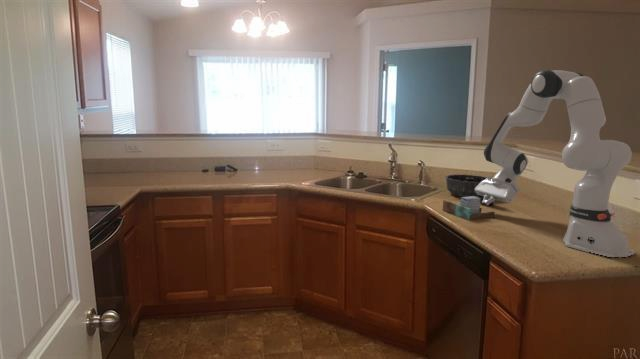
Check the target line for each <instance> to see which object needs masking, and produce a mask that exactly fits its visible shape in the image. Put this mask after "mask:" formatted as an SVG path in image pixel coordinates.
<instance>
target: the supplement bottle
mask: <svg viewBox="0 0 640 359" xmlns="http://www.w3.org/2000/svg"><path fill="white" fill-rule="evenodd" d="M483 199H484V196H481V197H480V206H484V207H485V206H486V207H487V206H488V207H492V206H494V205H495V201H493V202H491V203H490V204H489V205H484V204H482V201H483ZM489 199H490V198H489ZM487 200H488V199H487Z"/></svg>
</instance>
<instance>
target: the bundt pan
mask: <svg viewBox="0 0 640 359" xmlns="http://www.w3.org/2000/svg"><path fill="white" fill-rule="evenodd" d="M486 179H490V180H492V179H493V177H492V178H491V177H489V176H488V177H487V176H483V175H482V176H481V175H473V174H448V175H446V176H445V181H446V189H447V191H448V192H449V193H451V194H452V195H454V196H456V197H457V196H458V197H460V198H461V197H470V196H475V197H478V198H480V197H481V195H478V194H477V193H476V192H475V188H476V187H477V185H478V184H479V183H481V182H482V181H483V180H486Z"/></svg>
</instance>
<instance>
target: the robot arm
mask: <svg viewBox="0 0 640 359" xmlns="http://www.w3.org/2000/svg"><path fill="white" fill-rule="evenodd" d="M553 100H564V101H565V104H566V110H567V115H568V119H569V124H570V136H569V141H568V143H567V144H566V145H565V146H564V147H563V149H562V151H561V152H562V153H561V160H562V163H563V164H564V166H566V168H568V169H571V170H575V171H581V172H583V171H584V172H585V171H586V172H585V173H584V174H585V175H583V177H582V178H581V179H580V180H579V181H577V182H576V184H575V185H574V187H573V188H574V189H573V195H572V196H573V197H572V204H571V205H570V210H569V221H568V225H567V229H566V232H565V234H564V236H563V238H562V241H563V243H565V246H566V247H568V248H572V249H574V250H579V251H583V252H585V253H589V252H591V253H590V254H593V253H595V254H594V255H596V254H599V255H598V256H600V255H603V256H602V257H604V256H607V257H625V256H630V255H633V254H634V255H635V250H633V249H631V248H628V238H627V235H626V234H625V233H624V232H623V231H622V230H621V229H620V228H619V227H618V226H617V225H616V224H615V223H614V222H613V221H612V218H611V217H613V216H615V213H614V212H612V213H611V212H610V211H609V208H608V207H609V200H610V194H611V190H612V187H613V185H614V183H615V180H616V179H617V177H618V175H619V174H620V172H621V171H622V170H623V169H624V168H625V167H626V166H628V164H630V162H631V160H632V156H633V153H632V150H631V147H630V146H629V144H628V143H626V142H624V141H623V142H622V141H619V140H615V139H601V137H600V132H601V128H602V127H604V125H605V124H606V123H607V117H606V114H605V110H604V106H603V101H602V97H601V95H600V92H599V90H598V88H597V86H596V83H595V82H594V80H593V79H592V78H591V77H589V76H587V75H584V74H582V73H580V72H577V71H574V72H573V71H567V70H562V69H561V70H560V69H558V70H557V69H555V70H550V69H546V70H541V71H539V72H537V73H536V74H534V76H533V77H532V79H531V82H530V84H529V85H528V87H527V88H526V90H525V91H524V93H523V96H522V98H521V100H520V103H519V105H518V106H517V108H516V109H515V110H511V111H510V112H508V113H507V114H506V115H505V117H504V118H503V120H502V121H501V123H500V125H499V126H498V128H497V130H496V131H495V133H494V135H493V136H492V139H490V141H489V143H488V144H487V145H486V147H485V148H484V150H483V155H484V158H485V160H486V161H487V162H489V163H492V164H495V165H497V166H500V167H501V169H500V170H498V171H497V172H496V173H495V175H494V176H493V177H492V180H490V179H486V180H483V181H482V182H481V183H479V184H478V185H477V187H476V188H475V192H476V193H477V194H478V195H481V196H484V199H483V201H482V204H484V205H483V206H485V205H489V204H490V203H491V202H493V201H494V202H495V201H500V202H502V203H506V204H508V203H511V202H512V201H513V200H514V198H515V197H516V195H517V193H519V191H520V187H519V185H517V183H516V180H517V179H518V178H519V177H520V176H522V174H523V173H524V171H525V170H526V167H527V165H528V164H529V158H528V157H527V155H526V154H524V153H523V152H522V151H521V150H518V149H515V148H512V147H511V146H508V145H507V144H504V142H503V141H504V140H505V138H506V137H507V135H508V133H509V132H510V130H511V128H513V127H523V128H524V127H525V128H527V127H533V126H536V125H538V124H540V123H541V122H542V121H543V119H544V118H545V116H546V114H547V112H548V110H549V108H550V107H549V106H550V104H551V102H552V101H553ZM489 198H490V199H489ZM487 199H488V200H487ZM634 255H633V256H634ZM607 257H606V258H607Z"/></svg>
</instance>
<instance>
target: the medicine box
mask: <svg viewBox="0 0 640 359" xmlns="http://www.w3.org/2000/svg"><path fill="white" fill-rule="evenodd" d="M459 202H460V203H459V205H461V206H464V207H467V208H470V209H472V210H471V214H477V213H479V209H480V208H481V204H480V198H478V197H475V196H470V197H466V196H464V197H461V196H460V201H459Z"/></svg>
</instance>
